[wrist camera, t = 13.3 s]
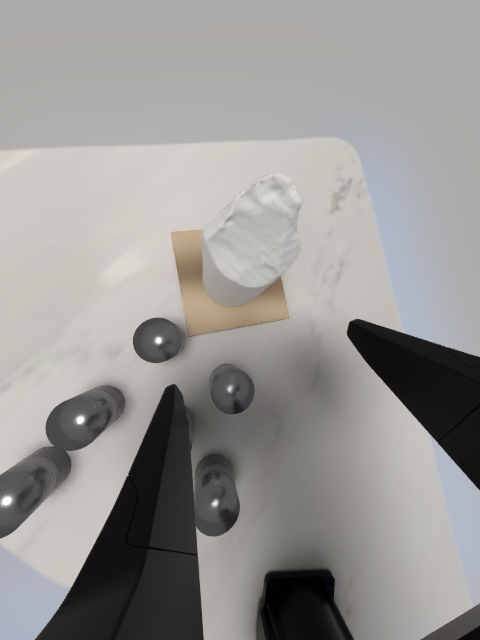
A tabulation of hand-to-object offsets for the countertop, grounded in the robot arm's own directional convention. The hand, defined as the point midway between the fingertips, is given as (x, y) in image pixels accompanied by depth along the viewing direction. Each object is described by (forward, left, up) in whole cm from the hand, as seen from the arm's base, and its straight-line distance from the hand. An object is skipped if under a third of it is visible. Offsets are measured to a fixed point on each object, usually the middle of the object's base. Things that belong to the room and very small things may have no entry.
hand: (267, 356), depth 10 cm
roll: (+1, -7, -10) cm, 12 cm away
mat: (+1, -7, -10) cm, 12 cm away
